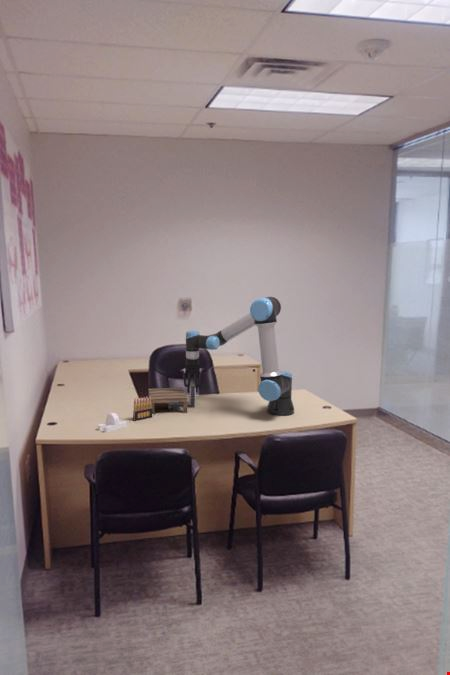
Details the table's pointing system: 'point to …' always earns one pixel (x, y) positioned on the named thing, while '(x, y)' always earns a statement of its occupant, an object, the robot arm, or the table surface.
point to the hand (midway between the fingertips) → (192, 398)
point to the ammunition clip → (142, 409)
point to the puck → (176, 406)
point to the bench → (168, 396)
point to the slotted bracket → (112, 423)
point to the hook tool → (191, 402)
